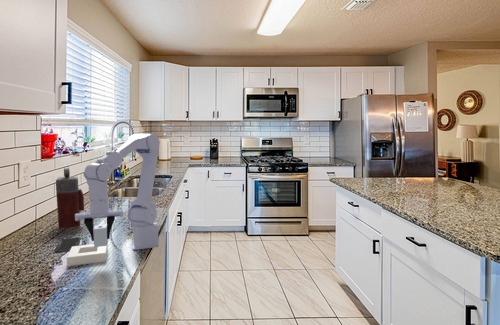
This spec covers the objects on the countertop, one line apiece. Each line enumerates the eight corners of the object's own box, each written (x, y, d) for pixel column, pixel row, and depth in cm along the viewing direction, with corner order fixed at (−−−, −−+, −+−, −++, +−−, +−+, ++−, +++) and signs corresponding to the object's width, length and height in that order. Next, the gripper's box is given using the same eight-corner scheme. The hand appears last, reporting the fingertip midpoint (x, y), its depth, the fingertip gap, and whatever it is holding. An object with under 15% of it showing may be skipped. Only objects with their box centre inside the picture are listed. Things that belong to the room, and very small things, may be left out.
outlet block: (107, 250, 129) (107, 242, 129) (105, 261, 118) (105, 252, 118) (72, 254, 125) (72, 246, 125) (67, 266, 114) (66, 257, 114)
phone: (54, 251, 127) (60, 239, 141) (54, 253, 127) (60, 242, 141) (77, 248, 130) (81, 237, 144) (77, 251, 130) (81, 239, 144)
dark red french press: (85, 226, 164) (82, 168, 161) (58, 229, 159) (54, 169, 157) (85, 221, 172) (82, 166, 170) (60, 224, 167) (56, 167, 165)
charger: (107, 242, 117) (107, 224, 116) (107, 245, 113) (106, 227, 113) (95, 243, 115) (94, 225, 115) (94, 247, 112) (93, 228, 111)
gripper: (72, 203, 107) (75, 245, 108) (122, 199, 112) (123, 240, 113) (75, 199, 113) (78, 239, 115) (122, 196, 118) (123, 234, 120)
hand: (100, 239), depth 114 cm, fingers closed on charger, 4 cm apart
